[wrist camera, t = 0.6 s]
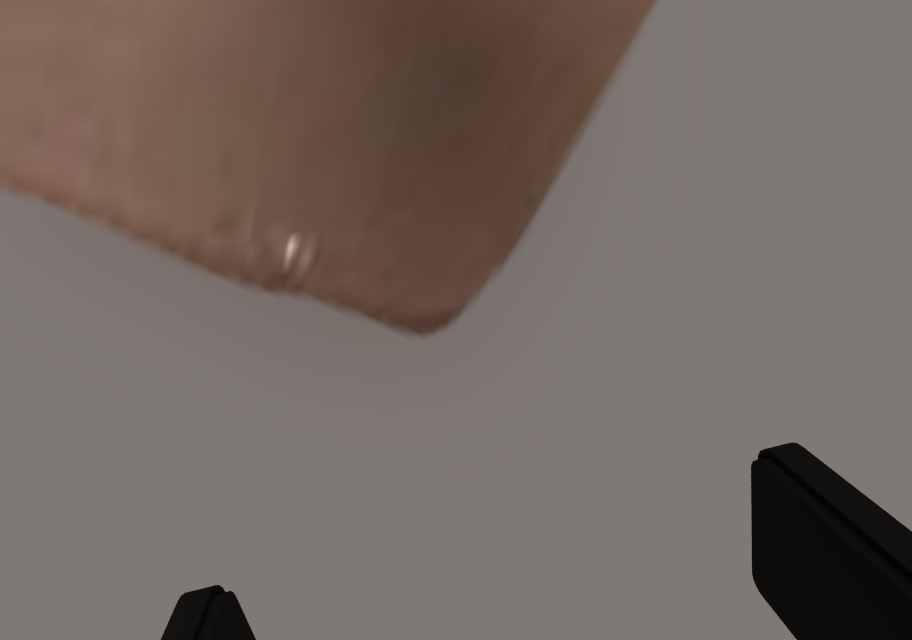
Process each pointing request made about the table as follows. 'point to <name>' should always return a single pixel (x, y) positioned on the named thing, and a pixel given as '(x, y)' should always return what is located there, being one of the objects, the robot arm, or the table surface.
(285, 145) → the table surface
